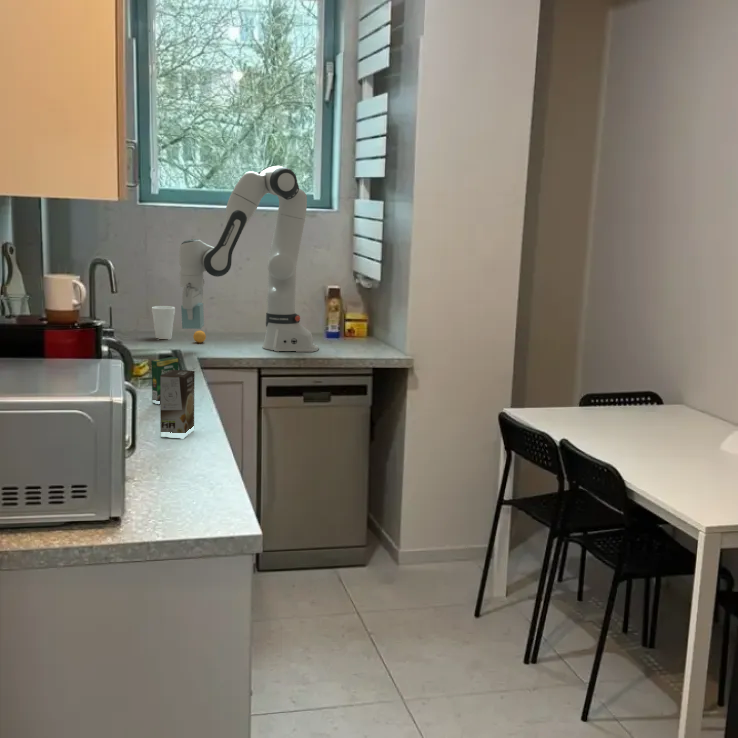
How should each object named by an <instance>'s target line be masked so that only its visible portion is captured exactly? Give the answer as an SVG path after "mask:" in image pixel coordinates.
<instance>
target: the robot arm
mask: <svg viewBox="0 0 738 738" xmlns="http://www.w3.org/2000/svg"><path fill="white" fill-rule="evenodd" d="M267 194H269V195H273V196H277V198H278V210H277V214H276V218H275V219H276V220H275V225H274V230H273V235H272V239H271V244H270V245H271V246H270V250H269V254H268V259H267V270H268V271H267V273H268V277H267V279H268V280H267V299H266V300H267V301H266V302H267V306H266V307H267V308H266V311H267V312H266V314H265V327H266V328H265V329H266V330H265V336H264V340H263V344H262V348H263V349H264V350H269V351H270V350H271V351H273V350H274V351H273V352H279V351H296V352H299V353H300V352H301V353H305V352H307V353H309V352H312V353H313V352H317V351H318V350H319V345H318V344H316V343H314V338H313V334H312V332H311V331H310V330H309V329H308V328H306V327H305V326H304V325H303V324H301V323H300V321H301V316H300V314H297V313H296V285H297V284H296V283H297V282H296V280H297V279H296V278H297V277H296V276H297V272H296V271H297V262H298V258H299V254H300V253H299V252H300V247H301V241H302V237H303V233H304V232H303V231H304V226H305V221H306V218H307V217H306V216H307V206H308V204H307V203H308V197H307V193H306V192H305V191H304V190H302V188H301V189H300V186H299V184H298V178H297V175H296V173H294V171H293V170H291V168H289V167H284V166H282V165H269V166H267V167H264V168H263V169H262V170H260V171H258V172H256V171H246V172H245V173H243V175H242V176H241V177H240V178H239V180H238V182H237V183H236V185H235V186H234V188H233V190H232V191H231V194H230V195H229V198H228V201H227V204H226V208H225V214H226V215H225V216H226V222H225V227H224V229H223V230H222V233H221V235H220V237H219V239H218V241H217V244H216V245H215V246H211V245H210V244H208V243H205V242H204V241H202V240H201V239H199V238H191V239H187V240H184V241H182V242H181V244H180V245H179V254H178V257H179V260H178V261H179V265H180V267H179V268H180V271H179V283H180V284H179V286H180V288H183V290H182V299H181V300H182V305H183V309H187V314H188V319H189V320H192V319H193V308H194V307H195V306H196V305H197V304H198V303H203V299H204V298H203V295H204V284H205V279H204V273H205V272H206V273H208V274H209V275H210V276H213V277H217V278H218V277H222V276H224V275H226V274H227V273H229V271H230V270H231V266H232V260H233V259H232V257H233V252H234V249H235V247H236V245H237V243H238V240H239V239H240V236H241V234H242V232H243V231H244V228H245V227H246V225H248V223H249V221H250V220H251V219H252V217H253V216H254V214H255V213H256V211H257V209H258V207H259V205H260V203H261V200H263V198H264V196H266V195H267ZM182 305H181V306H182Z"/></svg>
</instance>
